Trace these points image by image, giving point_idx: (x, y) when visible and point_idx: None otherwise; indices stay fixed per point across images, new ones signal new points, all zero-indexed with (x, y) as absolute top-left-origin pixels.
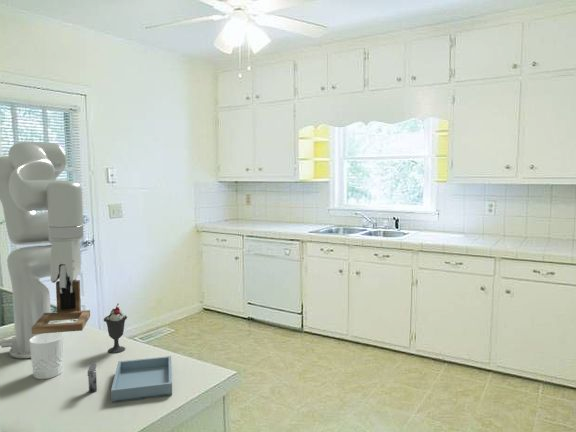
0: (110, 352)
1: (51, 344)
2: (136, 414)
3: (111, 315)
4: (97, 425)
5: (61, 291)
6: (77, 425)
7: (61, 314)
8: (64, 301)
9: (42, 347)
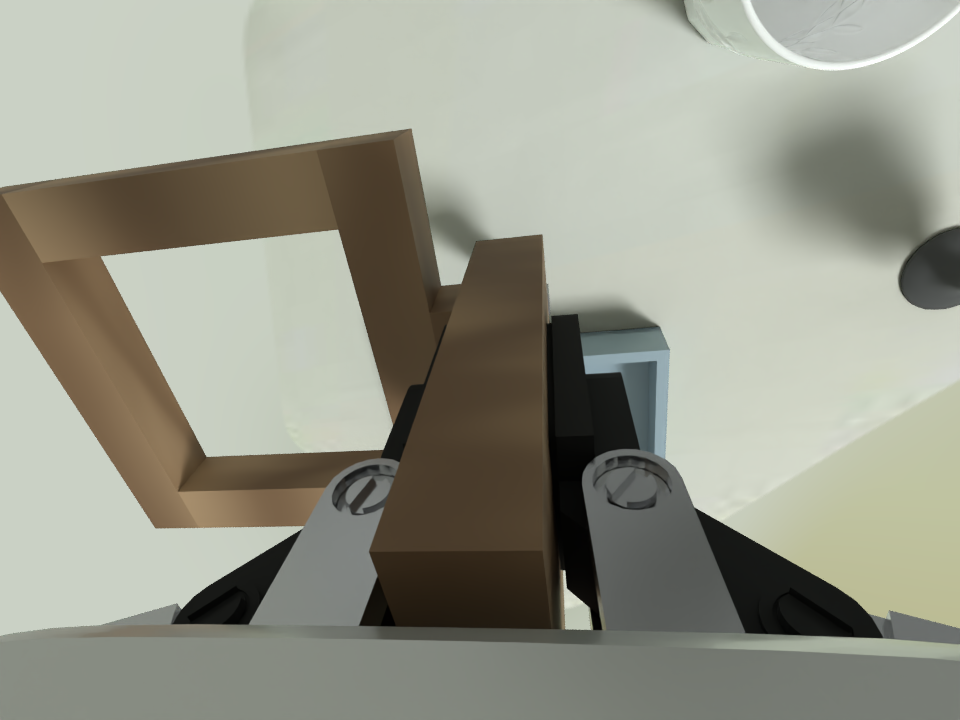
0: (921, 248)
1: (740, 16)
2: (345, 421)
3: None
4: (283, 334)
5: (327, 513)
6: (278, 278)
7: (371, 335)
8: (402, 424)
9: None
